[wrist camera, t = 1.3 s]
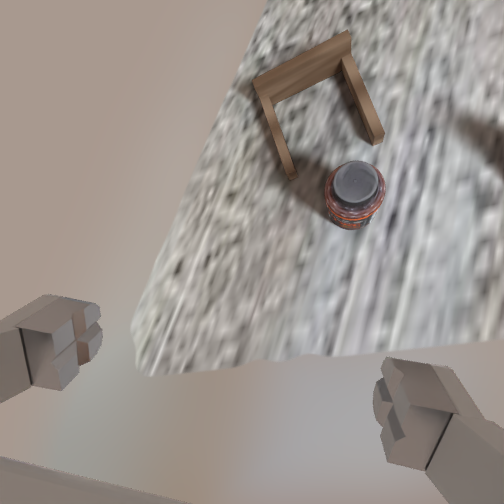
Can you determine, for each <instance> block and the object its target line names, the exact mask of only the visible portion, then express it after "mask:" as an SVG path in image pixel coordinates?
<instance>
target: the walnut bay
mask: <svg viewBox="0 0 504 504" xmlns="http://www.w3.org/2000/svg"><path fill="white" fill-rule="evenodd" d="M341 71H342V73H343V75H344V78H345V80H346V82H347V85H348V87H349V90H350V92H351V94H352V97H353V99H354V102H355V104H356V107H357V109H358V111H359V114H360V116H361V119H362V121H363V123H364V126H365V128H366V131H367V133H368V136H369V138H370V140H371V143H372V145H373V146H374V145H376V144H379V143H381V142H383V138H384V134H385V132H384V130H383V127H382V125H381V123H380V120H379V118H378V115H377V113H376V111H375V108H374V106H373V104H372V101H371V99H370V97H369V94H368V92H367V90H366V87H365V85H364V83H363V80H362V78H361V76H360V73H359V71H358V68H357V66H356V64H355V61H354V59H353V57H352V54H351V36H350V34H349V31H348V30H346V31H344V32H342V33H340V34H338V35H336V36H334V37H333V38H331V39H329V40H327V41H325V42H323V43H321V44H319V45H317V46H315V47H314V48H312V49H310V50H308V51H306V52H304V53H302V54H300V55H298V56H296V57H295V58H293V59H291V60H289V61H287V62H285V63H283V64H281V65H279V66H278V67H276V68H274V69H272V70H270V71H268V72H266V73H264V74H262V75H260V76H259V77H257V78H255V79H253V80H252V82H253V85H254V88H255V90H256V92H257V94H258V96H259V98H260V101H261V104H262V106H263V109H264V112H265V115H266V118H267V121H268V124H269V126H270V129H271V132H272V135H273V138H274V141H275V144H276V146H277V149H278V152H279V155H280V158H281V161H282V164H283V166H284V169H285V172H286V175H287V177H288V178H289V180H292V179H295V178H297V177H298V175H297V172H296V170H295V167H294V164H293V161H292V158H291V156H290V153H289V150H288V147H287V144H286V142H285V139H284V136H283V133H282V130H281V128H280V125H279V122H278V119H277V116H276V114H275V111H274V108H273V105H274V104H276V103H278V102H280V101H282V100H284V99H286V98H288V97H290V96H292V95H294V94H296V93H298V92H300V91H302V90H304V89H306V88H308V87H310V86H312V85H314V84H316V83H318V82H320V81H323V80H325V79H327V78H329V77H331V76H333V75H335V74H337V73H339V72H341Z"/></svg>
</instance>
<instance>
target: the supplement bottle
mask: <svg viewBox="0 0 504 504" xmlns="http://www.w3.org/2000/svg"><path fill="white" fill-rule="evenodd" d="M324 194H325V201H326V205H327V209H328V213H329V216H330V218H331V220H332V221H333V222H334V223H335V224H336V225H337V226H339V227H341V228H343V229H346V230H356V229H360V228H363V227H365V226H366V225H368V224H369V223H370V222H371V221H372V220H373V218H374V217H375V215H376V213H377V211H378V209H379V207H380V205H381V203H382V201H383V199H384V196H385V181H384V178H383V176H382V174H381V173H380V171H379V170H378V169H377V168H375V167H374V166H372V165H371V164H368V163H366V162H363V161H351V162H348V163H345V164H343V165H341V166H339V167H338V168H336V169H335V170H334V171H333V172H332V173H331V174H330V176H329V177H328V179H327V182H326V184H325V191H324Z"/></svg>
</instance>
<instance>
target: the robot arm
mask: <svg viewBox="0 0 504 504" xmlns="http://www.w3.org/2000/svg"><path fill="white" fill-rule="evenodd" d="M100 317H101V314H100V307H99V306H98V305H97V304H96V303H91V302H86V301H82V300H77V299H71V298H67V297H62V296H56V295H51V294H50V295H49V294H48V295H42V296H41V297H39V298H37V299H36V300H34V301H32V302H31V303H29V304H27V305H25V306H24V307H22V308H21V309H19V310H17V311H15V312H14V313H12V314H10V315H9V316H7V317H5V318H4V319H2V320H0V403H2V402H4V401H6V400H8V399H10V398H12V397H14V396H16V395H18V394H19V393H21V392H23V391H25V390H27V389H29V388H30V387H31V386H37V387H42V388H48V389H53V390H58V391H62V390H63V389H64V388H65V387H66V386H67V385H68V384H69V383H70V382H71V381H72V380H73V379H74V378H75V377H76V376H77V375H78V373H79V366H81V365H83V364H85V363H87V362H90V361H91V360H92V359H93V358H94V356H95V355H96V354H97V352H98V350H99V348H100V346H101V343H102V338H103V335H102V329H101V328H100V326H99V324H98V323H97V321H98V320H99V318H100ZM381 371H382V374H383V378H381V379H380V380H378V381H377V382H376V386H375V389H374V393H373V409H374V414H375V418H376V420H377V421H378V423H379V424H380V425H381V426H382V427H383V429H382V432H381V435H380V437H381V440H382V444H383V448H384V452H385V455H386V459H387V462H389V463H393V464H397V465H401V466H405V467H409V468H413V469H417V470H421V471H425V472H426V473H425V474H426V475H427V476H428V478H429V479H430V480H431V481H432V483H433V484H434V485H435V487H436V488H437V489H438V490H439V492H440V493H441V494H442V495H443V497H444V498H445V499H446V500H447V502H448V503H449V504H504V429H503V428H501V427H500V426H499V425H497V424H496V423H495V422H492V421H488V420H486V419H485V418H484V416H483V415H482V413H481V412H480V410H479V409H478V407H477V406H476V404H475V403H474V401H473V400H472V398H471V397H470V395H469V394H468V392H467V391H466V389H465V388H464V386H463V385H462V383H461V382H460V380H459V379H458V377H457V376H456V374H455V373H454V371H453V370H452V369H451V368H449V367H448V366H442V365H436V364H429V363H426V364H425V363H420V362H413V361H408V360H403V359H396V358H391V357H386V358H385V360H384V361H383V364H382V367H381ZM0 504H191V503H187V502H183V501H179V500H175V499H171V498H167V497H163V496H159V495H155V494H151V493H147V492H142V491H139V490H134V489H131V488H127V487H123V486H119V485H115V484H111V483H107V482H103V481H99V480H95V479H91V478H87V477H83V476H79V475H75V474H70V473H67V472H63V471H59V470H55V469H51V468H47V467H43V466H39V465H35V464H30V463H27V462H22V461H19V460H15V459H11V458H7V457H2V456H0Z"/></svg>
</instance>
